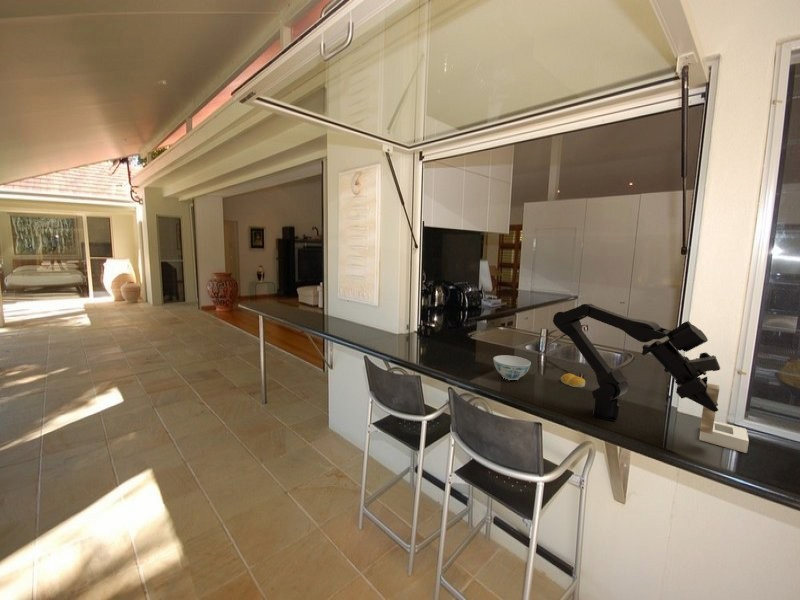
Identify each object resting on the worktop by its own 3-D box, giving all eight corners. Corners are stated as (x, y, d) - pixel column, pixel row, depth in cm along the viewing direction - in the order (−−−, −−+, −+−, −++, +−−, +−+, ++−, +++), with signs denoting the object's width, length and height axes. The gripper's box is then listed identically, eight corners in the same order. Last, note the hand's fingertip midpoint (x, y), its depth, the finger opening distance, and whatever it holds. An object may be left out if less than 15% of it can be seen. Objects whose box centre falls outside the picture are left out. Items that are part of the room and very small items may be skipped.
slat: (699, 431, 97) (706, 387, 96) (700, 425, 101) (707, 383, 99) (711, 434, 96) (719, 389, 94) (711, 428, 99) (719, 385, 97)
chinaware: (533, 377, 152) (534, 360, 151) (523, 387, 140) (525, 368, 139) (498, 369, 160) (500, 353, 159) (487, 378, 148) (488, 360, 147)
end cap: (699, 439, 104) (701, 428, 103) (700, 428, 111) (701, 417, 111) (746, 453, 97) (748, 441, 97) (744, 440, 105) (746, 428, 104)
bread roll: (577, 389, 141) (578, 379, 140) (557, 382, 148) (558, 372, 148) (589, 386, 145) (590, 376, 145) (569, 379, 153) (570, 370, 152)
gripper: (699, 350, 91) (752, 404, 85) (701, 339, 105) (746, 385, 99) (657, 372, 97) (704, 424, 91) (664, 359, 111) (705, 404, 105)
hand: (716, 408), depth 96 cm, fingers closed on slat, 4 cm apart
